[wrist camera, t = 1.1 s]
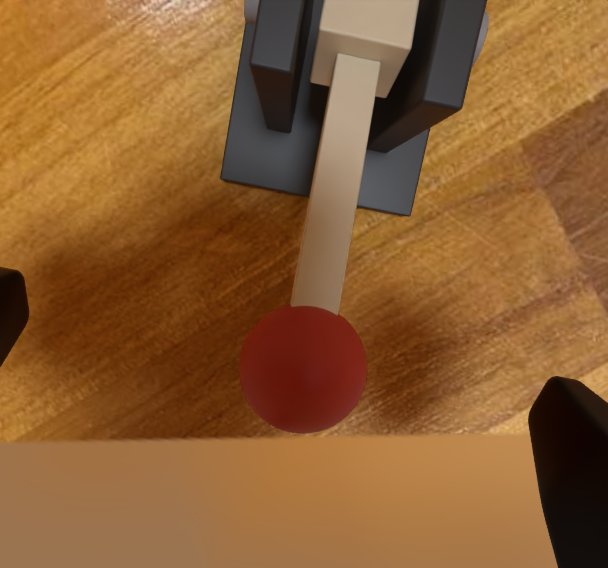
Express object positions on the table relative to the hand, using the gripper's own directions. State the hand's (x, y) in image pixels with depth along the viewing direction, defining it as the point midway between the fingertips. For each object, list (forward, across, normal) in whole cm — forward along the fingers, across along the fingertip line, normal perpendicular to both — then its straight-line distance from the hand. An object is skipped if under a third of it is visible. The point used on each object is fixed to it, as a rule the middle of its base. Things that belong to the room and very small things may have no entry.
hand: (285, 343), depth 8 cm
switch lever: (+6, 0, 0) cm, 6 cm away
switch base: (+15, 0, -2) cm, 15 cm away
